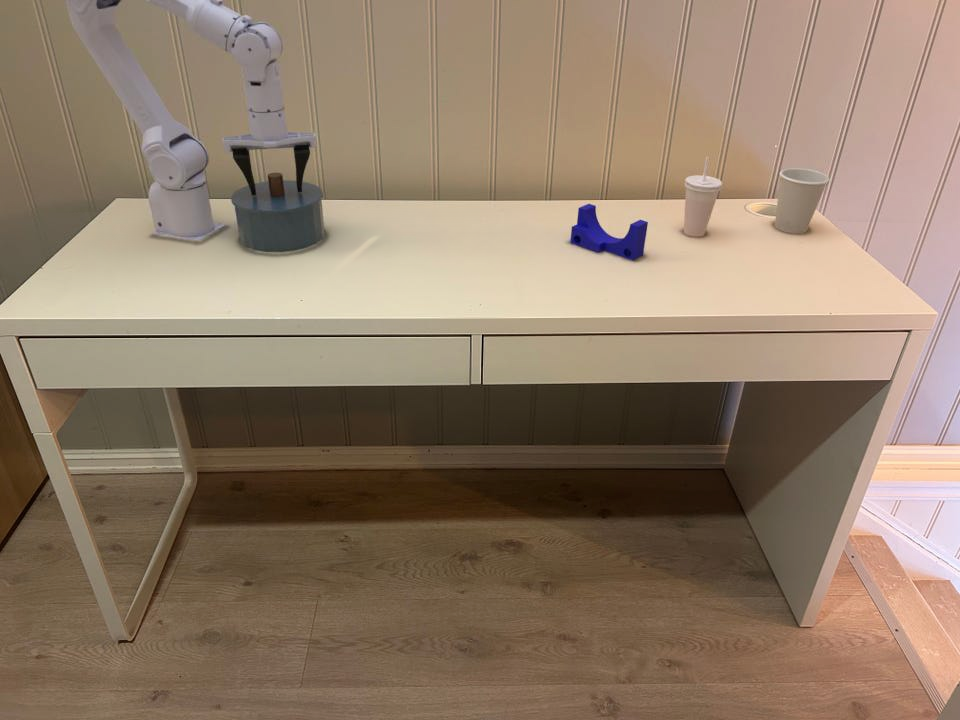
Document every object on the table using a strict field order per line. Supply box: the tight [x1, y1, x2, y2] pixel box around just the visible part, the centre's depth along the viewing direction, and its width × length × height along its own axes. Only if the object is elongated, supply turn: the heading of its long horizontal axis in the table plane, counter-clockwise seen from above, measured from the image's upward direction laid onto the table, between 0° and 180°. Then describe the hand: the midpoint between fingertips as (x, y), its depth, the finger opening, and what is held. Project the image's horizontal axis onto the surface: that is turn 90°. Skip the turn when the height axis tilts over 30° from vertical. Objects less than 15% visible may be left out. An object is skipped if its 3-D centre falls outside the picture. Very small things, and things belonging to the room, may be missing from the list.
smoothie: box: [683, 156, 723, 238], centre depth 129 cm, size 6×6×14 cm
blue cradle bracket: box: [569, 203, 649, 261], centre depth 124 cm, size 12×4×6 cm, turn 47°
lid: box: [230, 172, 324, 213], centre depth 122 cm, size 15×15×4 cm
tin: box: [234, 199, 326, 253], centre depth 125 cm, size 14×14×7 cm
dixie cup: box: [774, 167, 830, 234], centre depth 133 cm, size 8×8×10 cm
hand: (276, 191), depth 123 cm, fingers open, 7 cm apart
